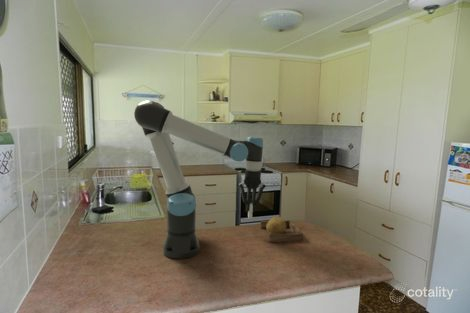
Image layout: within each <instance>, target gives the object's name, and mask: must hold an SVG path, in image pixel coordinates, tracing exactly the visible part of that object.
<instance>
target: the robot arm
mask: <svg viewBox="0 0 470 313" xmlns="http://www.w3.org/2000/svg"><path fill="white" fill-rule="evenodd" d="M133 113H134V119H135V122H136V123H137V124H138V126H140V127H141V129H142V131H143V133H144V136H145V137H146V138H148V139H149V140H150V143H151V146H152V149H153V151H154V154H155V157H156V160H157V163H158V166H159V169H160V171H161V174H162V177H163V179H164V183H165V185H166V191H165V192H164V193H165V196H166V200H167V201H166V202H167V203H166V210H167V211H166V213H167V217H166V218H167V219H166V222H167V226H166V227H167V231H166V232H167V234H166V238H165V240H164V243H163V246H162V253H163V254H164V255H165V256H166V257H167V258H170V259H177V260H178V259H180V260H181V259H187V258H189V259H190V258H191V257H194V256H196V255H197V254H198V253H199V252H200V242H199V238H198V237H197V233H196V214H197V212H196V208H197V203H196V202H197V201H196V196H195V194H194V193H193V191H192V187H191V184H190V183H188V182H187V181H186V180H185V177H184V174H183V172H182V169H181V165H180V163H179V160H178V157H177V153H176V151H175V147H174V145H173V142H172V139H171V135H172V136H173V137H177V138H180V139H182V140H184V141H187V142H190V143H192V144H195V145H197V146H198V147H199V146H200V147H202V148H204V149H208V150H210V151H212V152H215V153H217V154H220V155H221V156H223V157H227V158H229V159H231V160H233V161H235V162H243V161H245V166H244V167H245V170H244V178H243V181H242V182H239V183H238V186H239V187H240V191H241V197H242V198H241V199H242V202H243V203H244V204H245V205H246V206H245V207H246V211H247V217H248V219H253V212H255V210H256V209H255V208H256V207H255V206H257V205H258V204H260V202H261V197H262V195H263V192H264V189H265V188H266V184H265V183H263V182H262V179H261V178H262V171H261V170H262V162H263V160H262V159H263V149H264V139H263V138H262V137H261V136H258V137H257V136H248V137H247V139H246V140H236V139H235V140H234V139H232V138H229V137H227V136H225V135H222V134H220V133H218V132H216V131H213V130H211V129H208V128H206V127H203V126H201V125H198V124H196V123H193V122H191V121H189V120H186V119H184V118H182V117H179V116H177V115H174V114H173V112H172V111H171V110H169V109H167V108H165V106H163V105H162V104H161V103H159V102H156V101H154V100H144V101H142V102H140V103H138V104H137V105H136V107H135V109H134V112H133ZM245 187H246V192H247V193H246V192H245ZM257 189H258V190H257ZM257 191H258V192H257ZM251 193H252V194H251ZM251 195H252V196H251Z"/></svg>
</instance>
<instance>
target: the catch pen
mask: <svg viewBox="0 0 470 313" xmlns="http://www.w3.org/2000/svg"><path fill="white" fill-rule="evenodd" d="M283 220H284V221H285V223H286V228H288V229H289V230H290V232H292V233H283V234H270V233H269V238H268V242H269V241H270V242H269V243H282V242H281V241H289V242H303V241H304V233H303V232H302V231H301V230H300V228H298V227H297V226H296V225H295V224H294V222H292V221H291V220H290V219H289V220H285V219H283ZM268 221H269V220H261V221H260V229H266V225H267V223H268Z"/></svg>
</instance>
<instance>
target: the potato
mask: <svg viewBox="0 0 470 313" xmlns="http://www.w3.org/2000/svg"><path fill="white" fill-rule="evenodd" d="M284 220H285V219H283V218H282V217H281V216H274V217H271V218H270V219H269V220H267V221H268V223H267V225H266V228H265V229H266V230H267V232H268V233H269V235H270V234H285V231H286V229H287V227H286V223H285V221H284Z"/></svg>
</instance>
